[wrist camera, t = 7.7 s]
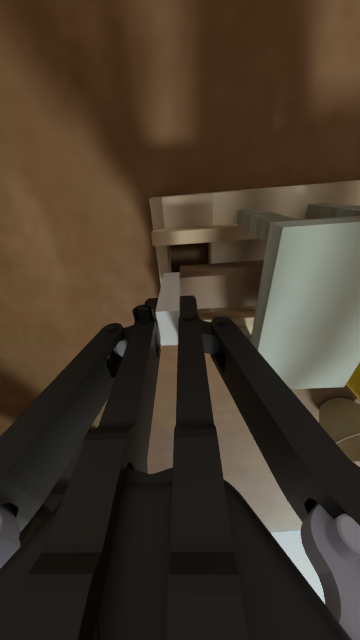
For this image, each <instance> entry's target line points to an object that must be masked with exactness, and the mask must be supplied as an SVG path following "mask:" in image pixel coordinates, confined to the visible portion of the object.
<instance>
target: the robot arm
mask: <svg viewBox="0 0 360 640" xmlns="http://www.w3.org/2000/svg"><path fill="white" fill-rule="evenodd" d="M179 275H180V272H173V273H164V274H163V279H162V283H161V288H160V293H159V298H149V299H148V300H147V301H146V302H145V304H144V305H139V306H137V307H135V308H134V309H133V310H132V311H133V315H134V319H135V323H134V325H132V326H129V327H126V328H123V327H122V325H121V324H118V323H112V324H109V325H107V326H105V327H104V328H102V329H101V330H100V332H99V333H98V334H97V335H96V336H95V337H94V338H93V339H92V340H91V341H90V342H89V343H88V344H87V345H86V346H85V347H84V348H83V350H82V351H81V352H80V353H79V354H78V355H77V356H76V357H75V358H74V359H73V360H72V361H71V362H70V363H69V364H68V365H67V367H66V368H65V369H64V370H63V371H62V372H61V373H60V374H59V375H58V376H57V377H56V378H55V379H54V380H53V381H52V382H51V384H50V385H49V386H48V387H47V388H46V389H45V390H44V391H43V392H42V393H41V394H40V395H39V396H38V397H37V398H36V399H35V400H34V402H33V403H32V404H31V405H30V406H29V407H28V408H27V409H26V410H25V411H24V412H23V413H22V414H21V415H20V416H19V417H18V419H17V420H16V421H15V422H14V423H13V424H12V425H11V426H10V427H9V428H8V429H7V430H6V431H5V432H4V433H3V434H2V435H1V437H0V640H360V467H358V466H357V465H356V464H355V463H354V462H352V461H351V460H350V459H349V458H348V457H347V456H346V455H345V454H344V452H343V451H342V450H341V449H340V448H339V446H338V445H337V444H336V443H335V442H334V440H333V439H332V438H331V437H330V436H329V435H328V433H327V432H326V431H325V430H324V429H323V427H322V426H321V425H320V424H319V423H318V421H317V420H316V419H315V418H314V417H313V416H312V414H311V413H310V412H309V411H308V410H307V408H306V407H305V406H304V405H303V404H302V403H301V401H300V400H299V399H298V398H297V397H296V395H295V394H294V393H293V392H292V391H291V389H290V388H289V387H288V386H287V385H286V384H285V382H284V381H283V380H282V379H281V378H280V376H279V375H278V374H277V373H276V372H275V370H274V369H273V368H272V367H271V366H270V365H269V363H268V362H267V361H266V360H265V359H264V357H263V356H262V355H261V354H260V353H259V352H258V350H257V349H256V348H255V347H254V346H253V344H252V343H251V342H250V341H249V340H248V338H247V337H246V336H245V335H244V334H243V333H242V331H241V330H240V329H239V328H238V327H237V325H236V324H235V323H234V322H233V321H232V320H231V319H230V318H227V317H216V318H214V319H212V321H211V322H207V321H204V320H202V319H200V318H199V316H198V310H197V302H196V298H195V297H194V296H193V295H189V296H181V289H180V279H179ZM160 342H161V345H178V364H177V406H176V426H175V430H174V453H173V468H170V469H167V470H164V471H161V472H158V473H155V474H147V454H148V446H149V438H150V431H151V423H152V415H153V407H154V399H155V391H156V383H157V376H158V368H159V360H160V352H161V350H160ZM204 353H209V354H210V355H211V358H212V360H213V362H214V363H215V365H216V367H217V369H218V371H219V373H220V375H221V377H222V379H223V381H224V382H225V384H226V386H227V388H228V390H229V392H230V394H231V396H232V398H233V400H234V401H235V403H236V405H237V407H238V409H239V411H240V413H241V415H242V417H243V419H244V420H245V422H246V424H247V426H248V428H249V430H250V432H251V434H252V436H253V438H254V439H255V441H256V443H257V445H258V447H259V449H260V451H261V453H262V455H263V457H264V458H265V460H266V462H267V464H268V466H269V468H270V470H271V472H272V474H273V476H274V477H275V479H276V481H277V483H278V485H279V487H280V488H281V490H282V492H283V494H284V495H285V497H286V499H287V500H288V502H289V503H290V505H291V506H292V508H293V509H294V511H295V512H296V514H297V515H298V517H299V518H300V519H301V521H302V522H303V523H302V526H301V539H302V544H303V547H304V549H305V552H306V554H307V556H308V558H309V560H310V562H311V563H312V565H313V567H314V569H315V571H316V572H317V574H318V577H319V579H320V582H321V585H322V587H323V592H324V597H325V604H324V603H323V601H322V600H321V599H320V597H319V596H318V595H317V593H316V592H315V591H314V590H313V588H312V587H311V586H310V585H309V583H308V582H307V580H306V579H305V578H304V577H303V575H302V574H301V573H300V571H299V570H298V569H297V567H296V566H295V565H294V563H293V562H292V561H291V559H290V558H289V557H288V556H287V554H286V553H285V552H284V550H283V549H282V548H281V546H280V545H279V544H278V543H277V541H276V540H275V539H274V537H273V536H272V535H271V533H270V532H269V531H268V529H267V528H266V527H265V525H264V524H263V523H262V521H261V520H260V519H259V518H258V516H257V515H256V514H255V512H254V511H253V510H252V508H251V507H250V506H249V504H248V503H247V502H246V501H245V499H244V498H243V497H242V495H241V494H240V493H239V492H238V491H237V490H236V489H235V488H234V487H233V486H232V485H231V484H229V483H228V482H227V481H225V480H224V479H223V473H222V466H221V459H220V452H219V445H218V438H217V431H216V427H215V425H214V421H213V414H212V406H211V399H210V392H209V384H208V377H207V370H206V362H205V355H204ZM108 356H109V358H108ZM107 358H108V359H107ZM108 397H109V398H108ZM107 399H108V401H107ZM106 401H107V403H106V406H105V409H104V412H103V415H102V418H101V421H100V423H99V426H98V427H97V429H94V430H91V431H89V428H90V427H91V425H92V424H93V422H94V420H95V419H96V417H97V415H98V414H99V412H100V410H101V409H102V407H103V406H104V404H105V402H106Z"/></svg>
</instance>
